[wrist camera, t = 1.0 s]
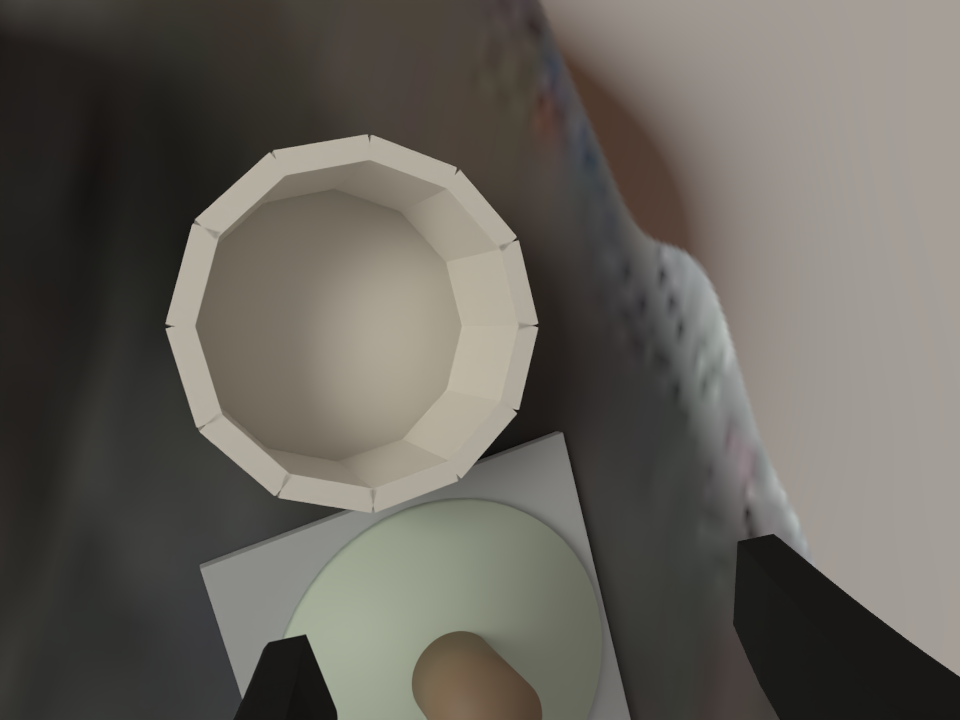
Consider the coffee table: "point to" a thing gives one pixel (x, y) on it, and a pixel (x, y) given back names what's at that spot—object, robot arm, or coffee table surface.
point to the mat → (305, 550)
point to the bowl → (352, 323)
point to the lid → (454, 618)
